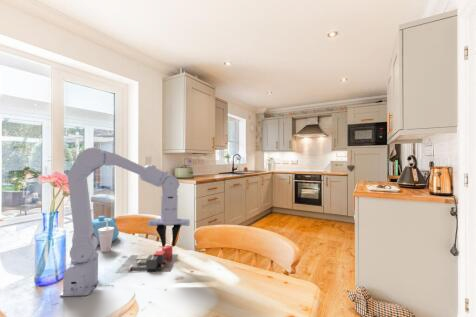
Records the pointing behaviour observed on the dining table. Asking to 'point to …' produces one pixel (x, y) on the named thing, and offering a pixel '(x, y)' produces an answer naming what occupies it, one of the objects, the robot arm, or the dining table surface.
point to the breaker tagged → (160, 256)
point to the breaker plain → (152, 262)
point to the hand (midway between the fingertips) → (168, 245)
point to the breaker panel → (139, 264)
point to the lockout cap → (167, 251)
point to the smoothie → (105, 237)
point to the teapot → (102, 223)
